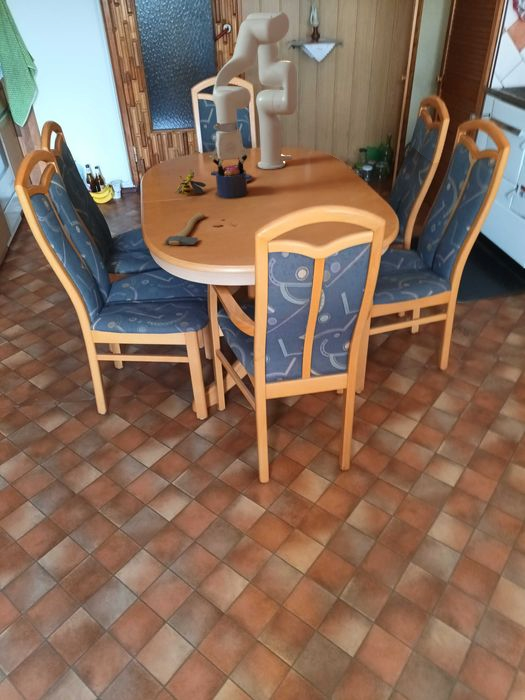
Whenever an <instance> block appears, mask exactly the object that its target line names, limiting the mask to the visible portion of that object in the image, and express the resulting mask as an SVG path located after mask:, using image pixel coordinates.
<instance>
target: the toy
mask: <svg viewBox="0 0 525 700" xmlns="http://www.w3.org/2000/svg"><path fill="white" fill-rule="evenodd" d="M189 171H191V172H190V173H189V174H188V175H187V176H186V179H183V177H182V175H178V176H179V178H180V179H181V180H182V181H183V182H180V184H179V185H178V187H177V189H176V190H175V192H174V194H177V192H178V191H181V193H180V194H181V195H184V194H185V196H188V195H189V194H190V192H191V190H192V189H193V190H194V191H195V192H196V193H197V194H204V193H205V192H204V189H202V188H205V187H206V186H207V185H206V183H204V182H201V181H195V180H192V179H193V178H195V172H196V169H194V171H193V170H192V169H188V170H187V172H189ZM189 184H190V185H191V186H190V185H189ZM191 188H192V189H191Z"/></svg>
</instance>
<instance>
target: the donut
mask: <svg viewBox="0 0 525 700" xmlns="http://www.w3.org/2000/svg"><path fill="white" fill-rule="evenodd" d="M239 174H240V169H239V168H238V167H237V166H234V164H233V165H226V166H224V167H223V176H236V175H239Z"/></svg>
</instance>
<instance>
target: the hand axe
mask: <svg viewBox="0 0 525 700" xmlns="http://www.w3.org/2000/svg"><path fill="white" fill-rule="evenodd" d="M204 218H205V214H204V213H202V212H196V214H194V215H193V216H192V217H191V218H190V219H189V220H188V221H187V223H186V226H185V227H184V228H183V229H182V230H181V231H179V232H177V233H176V234H174V236H173V235H170V236H168V238H166V239H165V244H166V245H170V246H189V245H190V246H191V245H195V244H196V243H197V242H198V240H199V237H192V236H189V235H190V233H191V232H192V230H193V229H194V226H195V224H196V223H197V222H198V221H199V220H202V219H204Z"/></svg>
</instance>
